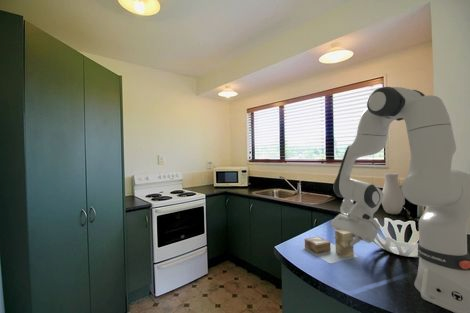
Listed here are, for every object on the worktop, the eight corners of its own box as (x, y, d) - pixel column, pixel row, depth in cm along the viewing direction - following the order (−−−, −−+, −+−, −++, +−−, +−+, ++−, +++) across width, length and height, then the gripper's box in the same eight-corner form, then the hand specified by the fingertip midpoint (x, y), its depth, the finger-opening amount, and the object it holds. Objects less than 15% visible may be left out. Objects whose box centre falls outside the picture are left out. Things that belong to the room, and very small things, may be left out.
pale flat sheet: (359, 258, 93) (359, 256, 93) (330, 266, 87) (330, 263, 87) (328, 243, 110) (327, 241, 110) (301, 248, 104) (301, 246, 104)
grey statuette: (356, 231, 125) (355, 197, 125) (344, 231, 126) (343, 197, 127) (352, 228, 131) (351, 195, 132) (341, 227, 133) (339, 195, 133)
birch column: (353, 255, 94) (352, 232, 94) (344, 257, 92) (344, 234, 92) (344, 251, 98) (343, 229, 98) (335, 252, 97) (335, 230, 97)
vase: (376, 212, 166) (375, 173, 166) (390, 210, 170) (389, 172, 170) (394, 216, 153) (392, 174, 153) (408, 214, 157) (407, 173, 157)
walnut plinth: (330, 250, 99) (330, 241, 99) (316, 254, 96) (316, 244, 96) (318, 244, 106) (318, 236, 106) (304, 247, 104) (304, 238, 104)
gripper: (336, 208, 107) (321, 230, 104) (376, 218, 88) (359, 246, 85) (344, 216, 109) (329, 238, 105) (384, 228, 90) (368, 255, 86)
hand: (343, 242), depth 95 cm, fingers open, 6 cm apart
